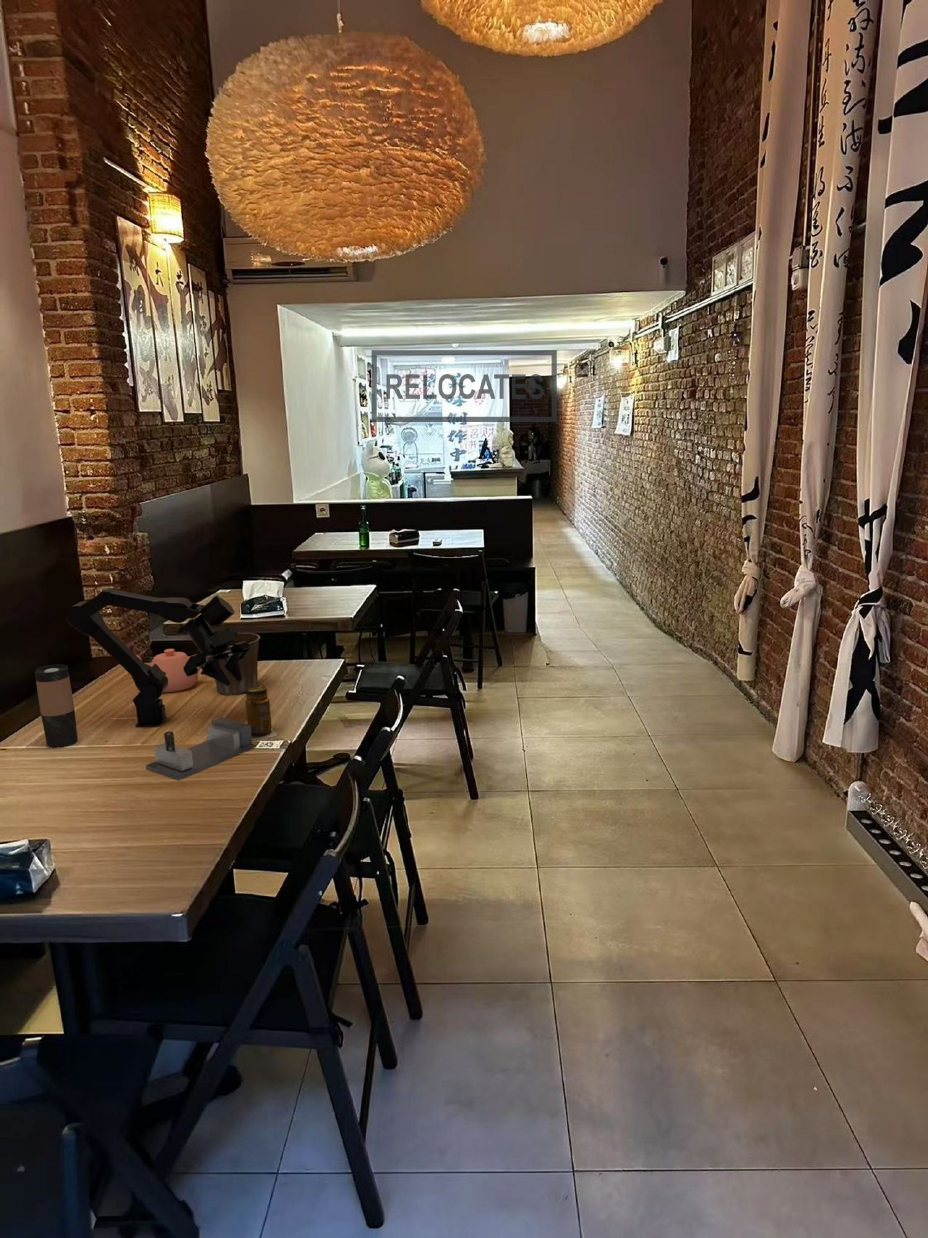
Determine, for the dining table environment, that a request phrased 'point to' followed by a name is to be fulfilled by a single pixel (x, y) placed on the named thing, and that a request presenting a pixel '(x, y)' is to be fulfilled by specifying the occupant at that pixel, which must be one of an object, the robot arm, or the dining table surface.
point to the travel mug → (56, 705)
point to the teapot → (175, 670)
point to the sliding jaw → (173, 754)
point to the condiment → (259, 713)
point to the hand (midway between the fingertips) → (235, 682)
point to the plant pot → (242, 667)
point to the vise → (212, 748)
